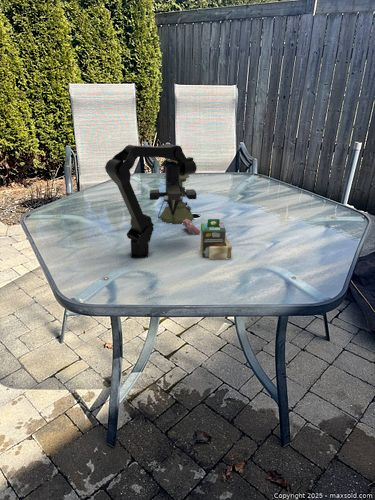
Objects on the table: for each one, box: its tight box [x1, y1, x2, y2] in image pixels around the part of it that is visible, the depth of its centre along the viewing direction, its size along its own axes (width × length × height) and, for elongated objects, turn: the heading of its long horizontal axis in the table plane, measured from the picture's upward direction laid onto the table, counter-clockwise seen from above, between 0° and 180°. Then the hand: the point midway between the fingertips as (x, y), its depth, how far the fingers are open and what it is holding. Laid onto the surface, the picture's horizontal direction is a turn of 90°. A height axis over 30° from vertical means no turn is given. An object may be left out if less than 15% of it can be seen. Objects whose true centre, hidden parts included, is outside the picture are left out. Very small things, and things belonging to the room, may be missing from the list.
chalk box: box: [200, 218, 227, 258], centre depth 150 cm, size 9×9×15 cm
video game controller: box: [182, 219, 201, 235], centre depth 174 cm, size 10×5×7 cm, turn 21°
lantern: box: [157, 159, 195, 225], centre depth 186 cm, size 21×18×30 cm
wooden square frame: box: [208, 235, 233, 260], centre depth 152 cm, size 8×14×5 cm, turn 6°
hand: (172, 214), depth 156 cm, fingers closed
